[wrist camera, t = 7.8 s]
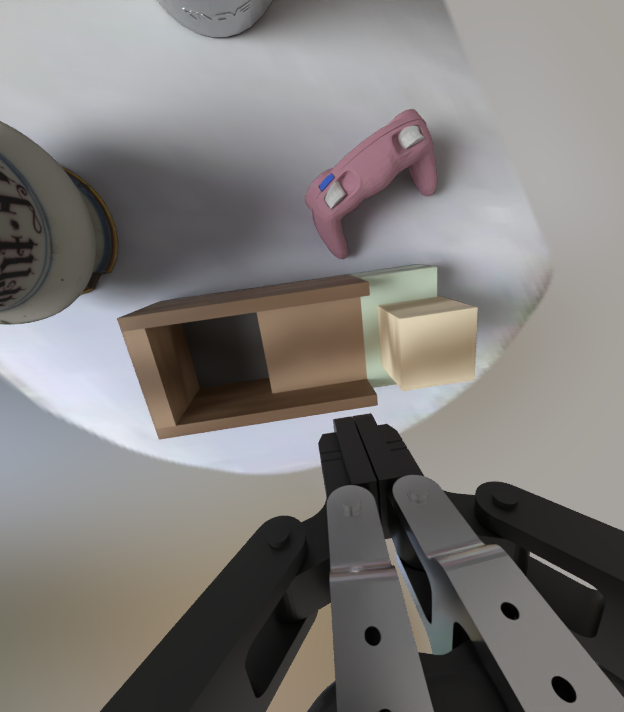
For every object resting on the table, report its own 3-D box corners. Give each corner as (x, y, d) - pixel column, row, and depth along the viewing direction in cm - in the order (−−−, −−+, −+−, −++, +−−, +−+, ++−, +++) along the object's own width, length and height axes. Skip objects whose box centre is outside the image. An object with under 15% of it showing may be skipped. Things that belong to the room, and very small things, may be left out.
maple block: (377, 305, 24) (399, 319, 19) (440, 296, 24) (477, 307, 19) (381, 365, 26) (402, 391, 21) (440, 356, 26) (474, 379, 21)
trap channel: (159, 301, 27) (116, 318, 20) (416, 264, 27) (457, 268, 21) (187, 397, 30) (158, 439, 23) (418, 361, 30) (455, 393, 24)
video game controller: (405, 153, 26) (417, 74, 19) (439, 194, 25) (463, 127, 18) (309, 227, 27) (287, 178, 20) (338, 268, 26) (326, 231, 20)
